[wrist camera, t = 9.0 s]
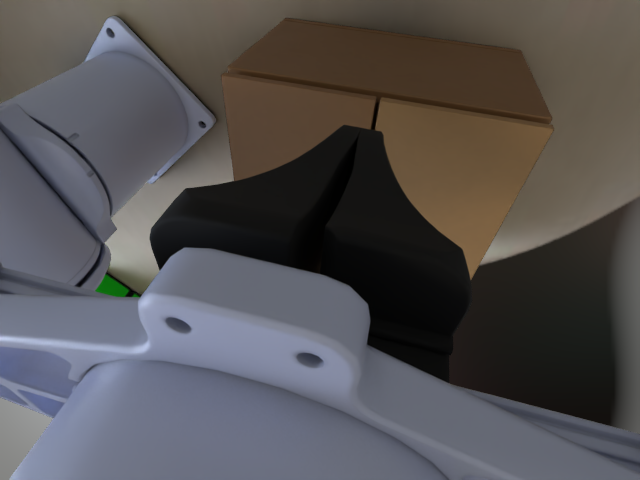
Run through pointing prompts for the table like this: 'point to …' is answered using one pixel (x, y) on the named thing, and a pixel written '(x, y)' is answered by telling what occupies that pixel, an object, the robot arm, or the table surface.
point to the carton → (358, 86)
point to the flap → (460, 167)
